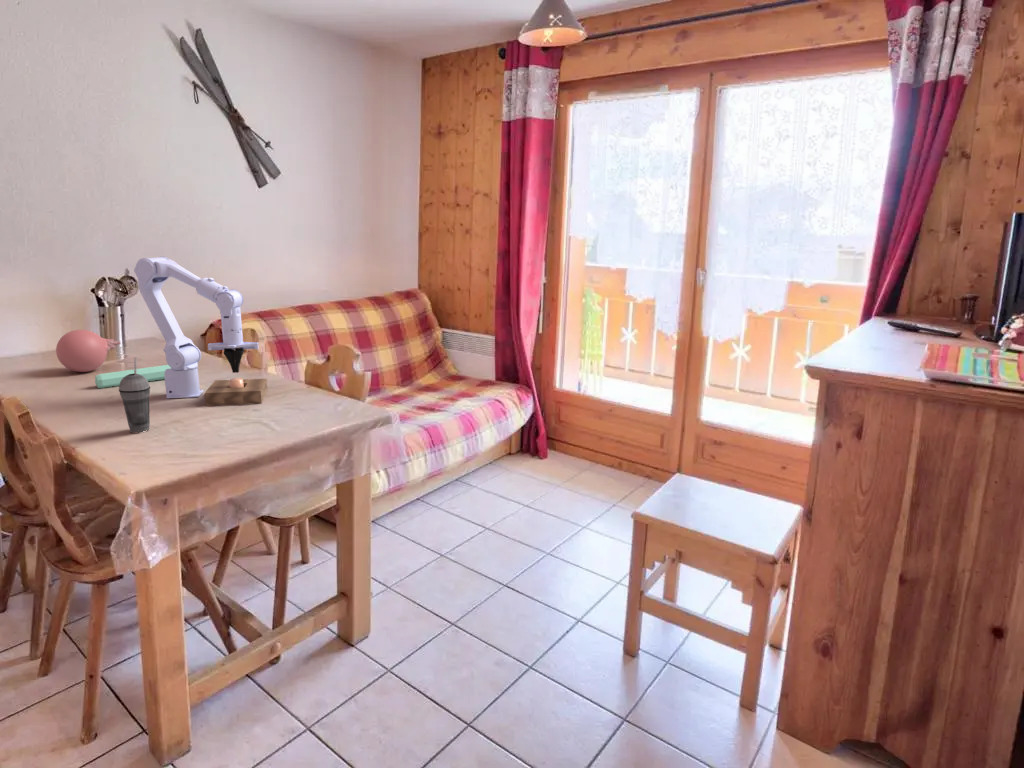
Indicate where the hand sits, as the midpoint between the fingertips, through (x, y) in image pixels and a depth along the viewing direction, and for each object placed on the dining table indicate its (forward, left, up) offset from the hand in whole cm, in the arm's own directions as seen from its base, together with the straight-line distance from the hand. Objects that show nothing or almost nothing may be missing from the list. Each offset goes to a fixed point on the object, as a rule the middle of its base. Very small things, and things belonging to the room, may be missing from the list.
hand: (235, 372), depth 202 cm
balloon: (-57, +47, -9) cm, 74 cm away
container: (-36, +26, -9) cm, 45 cm away
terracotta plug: (0, 0, -8) cm, 8 cm away
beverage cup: (-20, -30, -9) cm, 37 cm away
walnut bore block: (0, 0, -8) cm, 8 cm away
